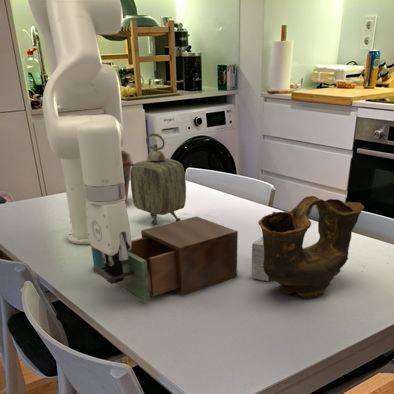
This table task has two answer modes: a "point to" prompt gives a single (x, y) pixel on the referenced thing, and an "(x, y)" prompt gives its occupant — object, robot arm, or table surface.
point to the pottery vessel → (313, 255)
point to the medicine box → (258, 261)
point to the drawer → (147, 269)
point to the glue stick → (97, 257)
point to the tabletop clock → (158, 183)
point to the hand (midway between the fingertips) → (115, 280)
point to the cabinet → (199, 251)
